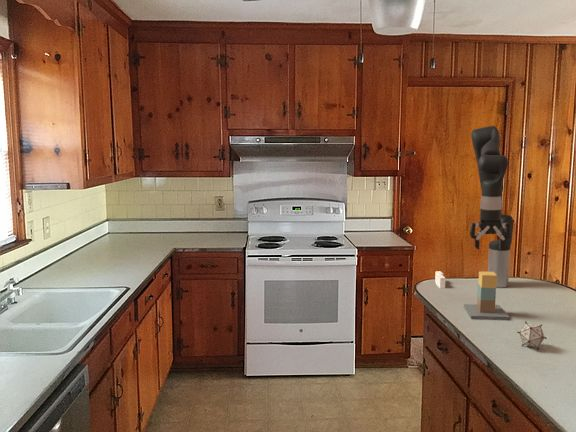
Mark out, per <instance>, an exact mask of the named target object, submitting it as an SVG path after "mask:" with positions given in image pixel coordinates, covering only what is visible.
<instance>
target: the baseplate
mask: <svg viewBox="0 0 576 432" xmlns="http://www.w3.org/2000/svg"><path fill="white" fill-rule="evenodd" d="M476 298H477V299H476V303H473V304H472V303H471V304H470V303H469V304H467V303H463V308H464V310H465V311H466V313H467V314H468V317H469V318H470V319H471V320H492V321H493V320H497V321H500V320H501V321H510V316H509V315H508V313H507V312H506V311H505V310H504V309H503V308H502V307H501V305H500V304H496V299H495V300H480V299H479V297H478V296H476Z"/></svg>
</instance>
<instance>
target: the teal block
mask: <svg viewBox="0 0 576 432" xmlns="http://www.w3.org/2000/svg"><path fill="white" fill-rule="evenodd" d="M496 294H497V288H482V287H481V286H480V285H479V284H478V283H477V294H476V295H477V296H478V297H479V299H480V300H495V301H496V298H497V297H496V296H497V295H496ZM477 296H476V297H477Z"/></svg>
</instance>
